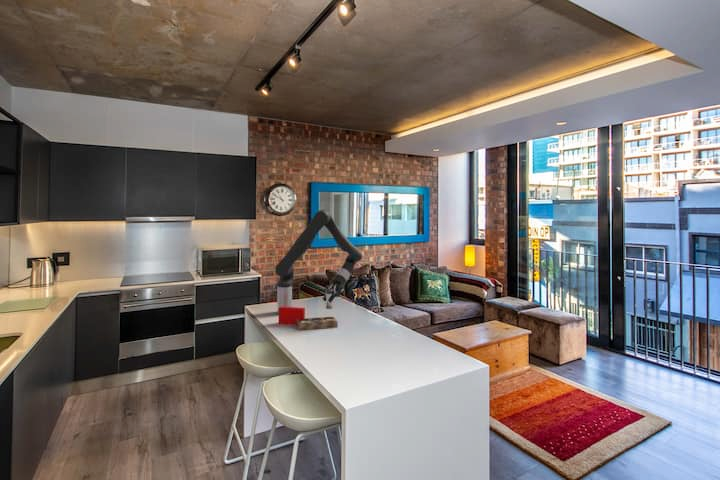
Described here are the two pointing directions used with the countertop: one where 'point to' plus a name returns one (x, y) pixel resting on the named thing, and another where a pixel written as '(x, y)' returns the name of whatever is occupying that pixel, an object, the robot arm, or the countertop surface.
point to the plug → (328, 295)
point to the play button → (291, 315)
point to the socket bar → (317, 323)
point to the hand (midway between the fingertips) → (326, 300)
